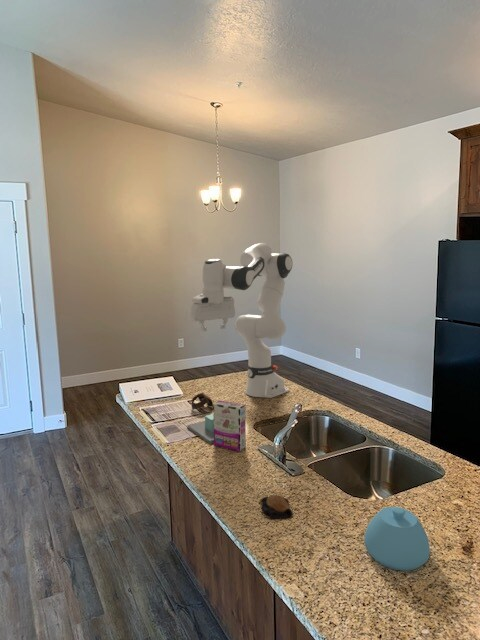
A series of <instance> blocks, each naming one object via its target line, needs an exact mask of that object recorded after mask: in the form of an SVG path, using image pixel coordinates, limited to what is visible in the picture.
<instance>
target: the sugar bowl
mask: <svg viewBox="0 0 480 640" xmlns="http://www.w3.org/2000/svg"><path fill="white" fill-rule="evenodd" d="M363 542H364V546H365V549H366V551H367V552H368V553H369V555H370V556H371V557H372V558H373V559H374V560H376V561H377V562H378V563H379V564H380V565H382V566H384V567H386V568H388V569H392V570H395V571H400V572H401V571H403V572H405V571H407V572H408V571H413V570H416V569H418V568H421V567H422V566H423V565H424V564H426V563H427V561H428V560H429V558H430V555H431V553H430V552H431V551H430V550H431V549H430V547H431V546H430V542H429V537H428V535H427V533H426V531H425V529H424V527H423V524H422V523H421V521H420V520H419V518H418V517H417V515H415V514H414V513H413V512H411V511H410V510H408V509H405V508H402V507H400V506H387V507H384V508H382V509H380V510H378V512H377V513H376V514H375V515H374V516H373V517H372V519H371V520H370V521H369V523H368V525H367V527H366V530H365V532H364V540H363Z"/></svg>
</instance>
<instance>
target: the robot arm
mask: <svg viewBox="0 0 480 640" xmlns="http://www.w3.org/2000/svg"><path fill="white" fill-rule="evenodd" d="M239 260H240V265H241V266H233V265H232V266H231V265H230V266H229V265H225V264H224V263H223V261H222V259H221V258H210V259H206V260H205V261H203V262H204V263H203V267H202V283H203V288H202V293H200V294H198V295H196V296H193V297H192V299H191V300H192V304H191V307H190V319H191V320H192V321H193V322H198V324H199V326H200V327H201V331H202V332H205V331H207V326H205V321H213V320H222V323H221V324H220V329H222V330H224V329H226V325H227V323H228V319H233V318H235V316H236V307H235V299H234V298H233V297H232V296H224V293H225V292H224V291H225V290H224V289H228V290H229V289H230V290H231V289H232V290H238V291H239V290H241V291H246V290H248V289H249V288H250V287H251V286H252V284H253V282H254V281H255V279H256V278H257V277H262V276H263V277H265V278H266V279H265V281H264V283H263V285H262V288H261V291H260V293H259V296H258V298H257V300H256V306H257V308H258V310H259V311H260V312H262V314H260V315H259V314H243V315H241V314H240V315H239V316H238V317H237V318H236V321H235V325H234V327H235V330H236V333H237V334H238V335H239V336H240V337H241V338H242V339H243V341H244V343H245V345H246V348H247V355H248V364H247V382H246V383H247V384H246V388H245V392H244V394H245V395H246V396H247V395H248V396H250V397H254V398H266V399H267V398H268V399H272V398H274V397H277V396H280V395H282V394H286V393H288V392H290V389H289V388H288V387H287V386H286V385H285V381H284V379H283V377H281V376H280V375H279V374H278V373H276V372H275V371H277V370H278V368H279V366H277V365H275V364H274V365H272V351H271V348H270V347H269V346H268V345H266V344H265V342H263V340H262V339H267V340H277V339H281V338H282V337H283V336H284V335H285V333H286V331H287V330H286V327H287V326H286V323H285V321H284V320H283V319H282V317H281V315H280V314H279V310H280V309H279V308H280V304H281V302H282V298H283V295H284V290H285V283H286V282H285V281H286V280H285V278H287V277H288V275H289V274H290V273H291V271H292V268H293V259H292V257H291V255H290V254H288V253H284V252H280V253H275V252H274V253H273V250H272V248H271V247H270V245H269V244H267V243H265V242H259V243H255V244H253V245H250V246H249V247H247V248H246V249H245V250H244V251H242V253H241V255H240V257H239ZM274 370H275V371H274Z"/></svg>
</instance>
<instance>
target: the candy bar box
mask: <svg viewBox="0 0 480 640" xmlns="http://www.w3.org/2000/svg"><path fill="white" fill-rule="evenodd" d="M246 408H247V407H246V404H243V403H236V402H232V401H224V400H218V401H217V402H214V403H213V407H212V410H213V414H214V443H213V446H214V447H217V448H221V449H225V450H231V451H235V452H237V453H239V452H240V453H241V451H243V450H244V449H246V447H247V446H246V444H247V443H246V442H247V441H246V440H247V439H246V432H247V431H246V427H247V426H246V424H247V421H246V410H247V409H246Z"/></svg>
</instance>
